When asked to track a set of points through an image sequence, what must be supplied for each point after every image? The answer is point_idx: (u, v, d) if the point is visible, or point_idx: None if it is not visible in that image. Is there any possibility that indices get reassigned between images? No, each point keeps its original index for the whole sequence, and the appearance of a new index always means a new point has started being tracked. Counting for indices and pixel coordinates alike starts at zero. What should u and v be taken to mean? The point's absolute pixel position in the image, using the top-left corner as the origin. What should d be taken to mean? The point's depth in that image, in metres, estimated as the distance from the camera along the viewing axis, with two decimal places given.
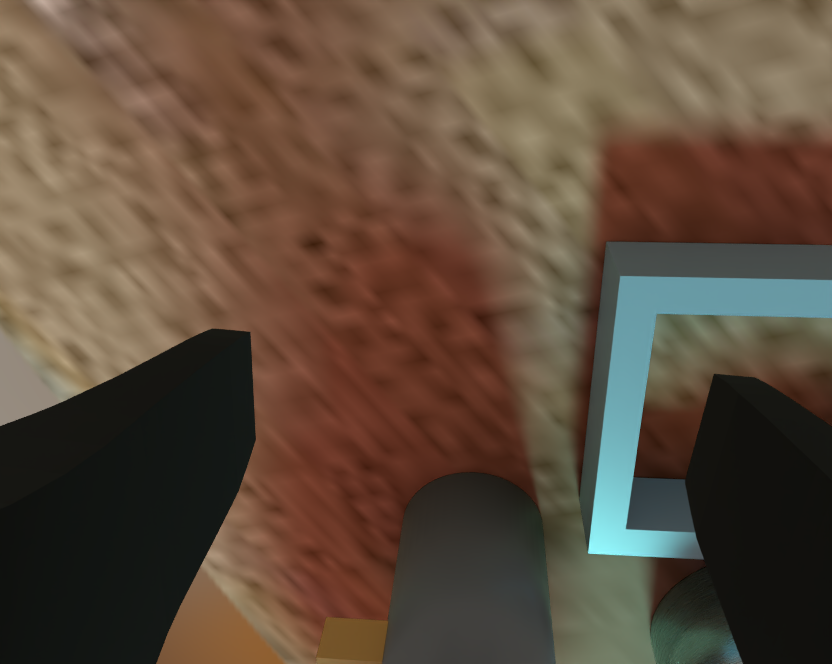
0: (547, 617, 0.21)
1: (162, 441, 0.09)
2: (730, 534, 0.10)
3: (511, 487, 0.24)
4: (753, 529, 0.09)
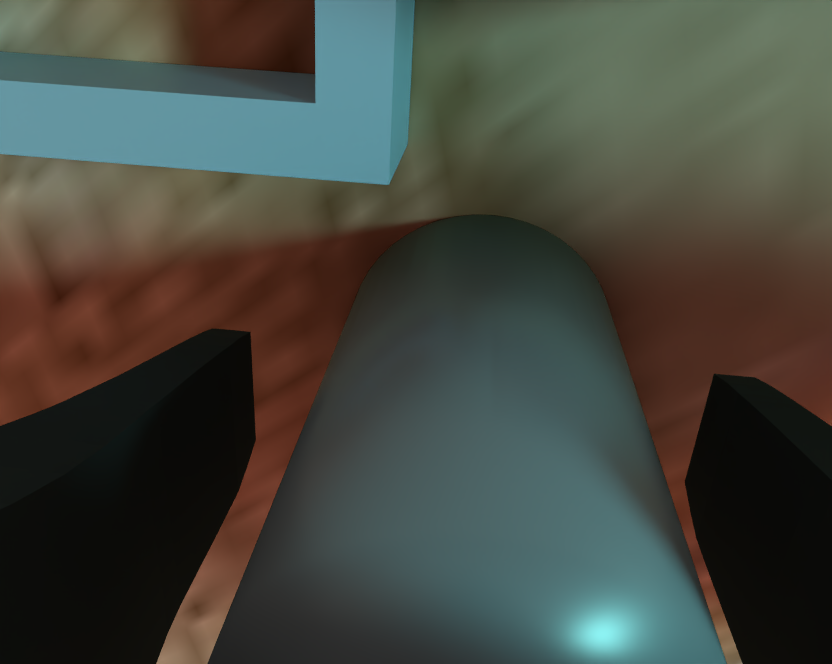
0: (405, 345, 0.09)
1: (162, 441, 0.09)
2: (730, 534, 0.10)
3: (369, 272, 0.13)
4: (753, 529, 0.09)
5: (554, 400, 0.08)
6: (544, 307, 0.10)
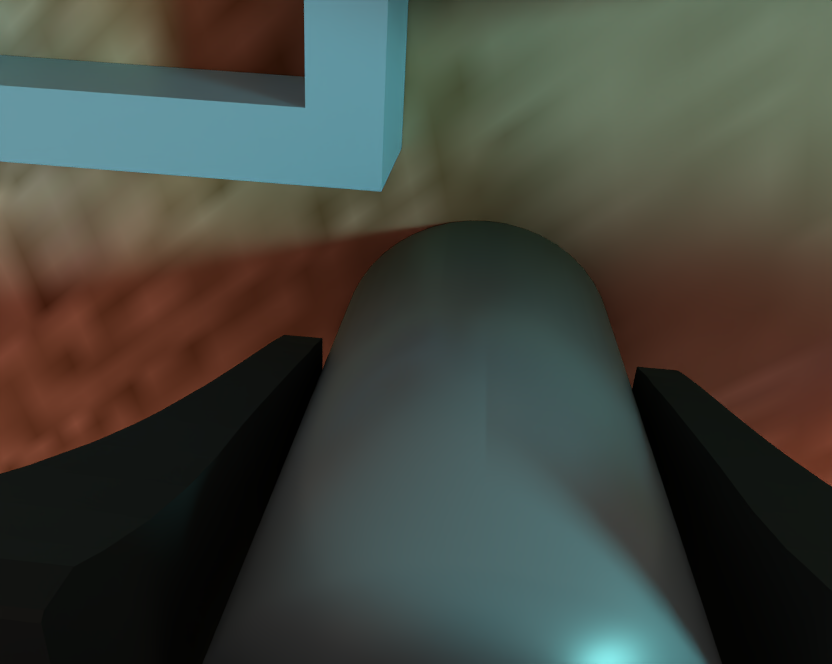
0: (397, 359, 0.09)
1: (256, 451, 0.09)
2: None
3: (362, 280, 0.13)
4: None
5: (552, 418, 0.07)
6: (541, 318, 0.09)
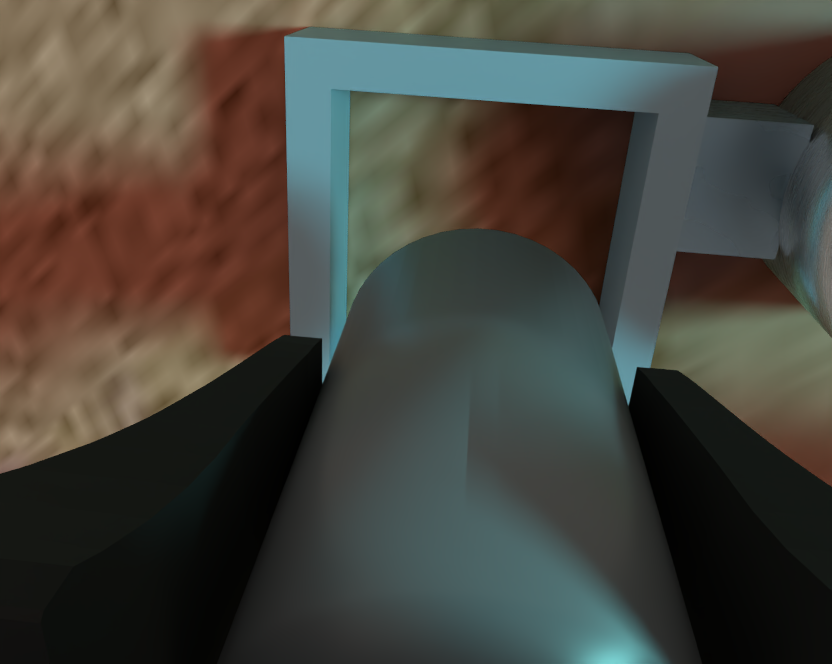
0: (386, 379, 0.09)
1: (256, 451, 0.09)
2: None
3: (359, 292, 0.13)
4: (663, 520, 0.10)
5: (533, 434, 0.08)
6: (527, 328, 0.10)
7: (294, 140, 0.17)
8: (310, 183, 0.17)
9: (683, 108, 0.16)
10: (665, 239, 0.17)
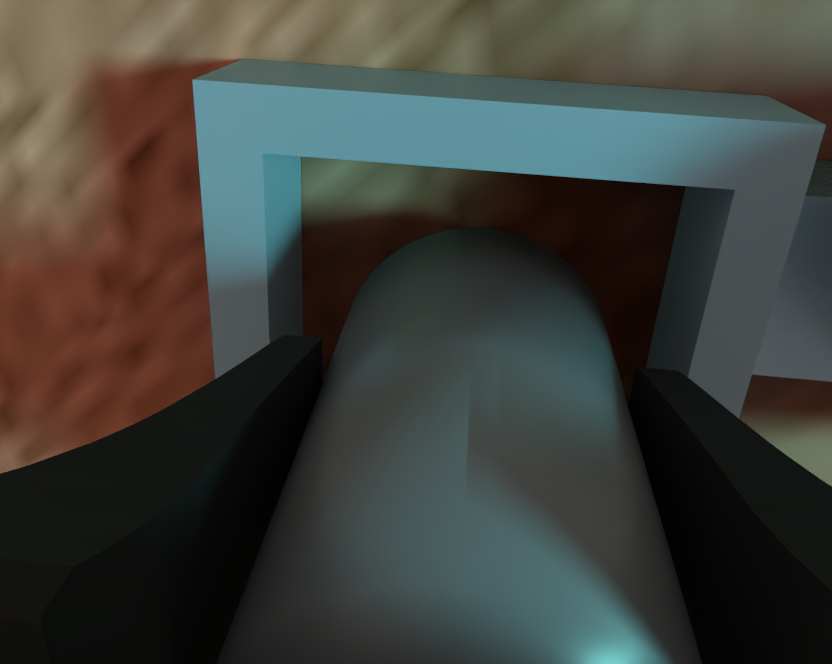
0: (386, 378, 0.09)
1: (256, 451, 0.09)
2: None
3: (359, 291, 0.13)
4: (663, 520, 0.10)
5: (533, 433, 0.08)
6: (527, 328, 0.10)
7: (214, 222, 0.12)
8: (240, 280, 0.12)
9: (771, 183, 0.11)
10: (736, 359, 0.12)
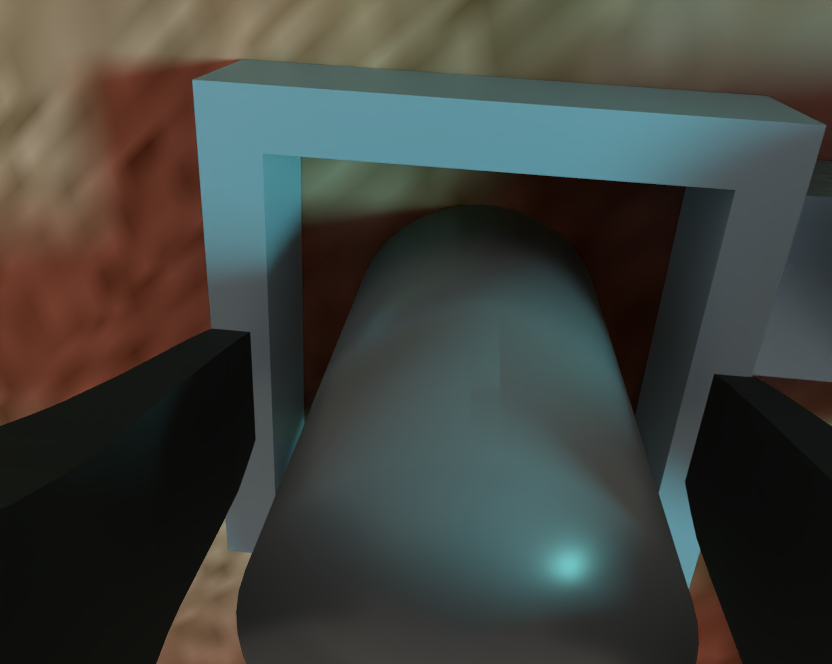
0: (399, 320, 0.10)
1: (162, 441, 0.09)
2: (730, 534, 0.10)
3: (370, 264, 0.14)
4: (753, 529, 0.09)
5: (528, 357, 0.09)
6: (524, 281, 0.11)
7: (214, 223, 0.12)
8: (239, 280, 0.12)
9: (771, 183, 0.11)
10: (736, 359, 0.12)
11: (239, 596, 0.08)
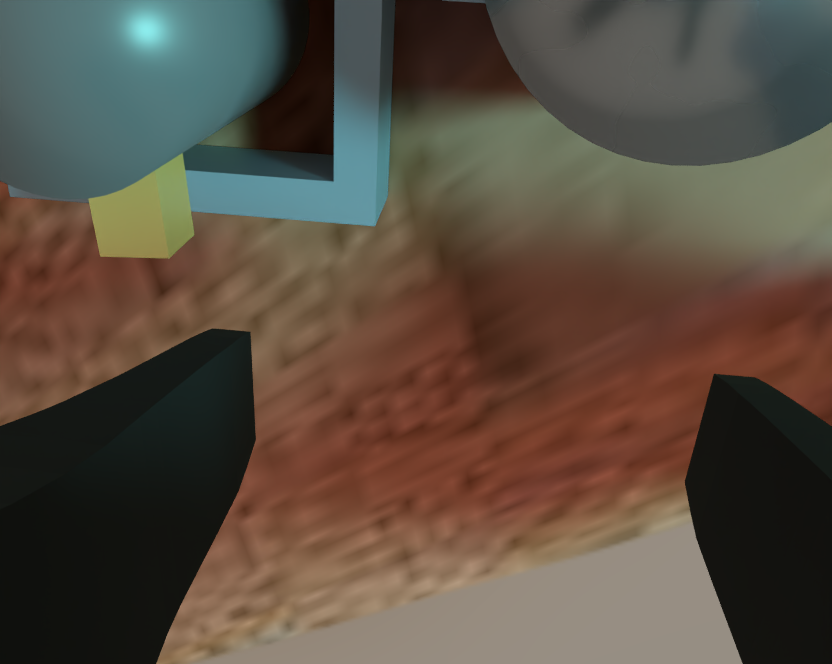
0: None
1: (162, 441, 0.09)
2: (730, 534, 0.10)
3: None
4: (753, 529, 0.09)
5: None
6: None
7: None
8: None
9: None
10: None
11: None
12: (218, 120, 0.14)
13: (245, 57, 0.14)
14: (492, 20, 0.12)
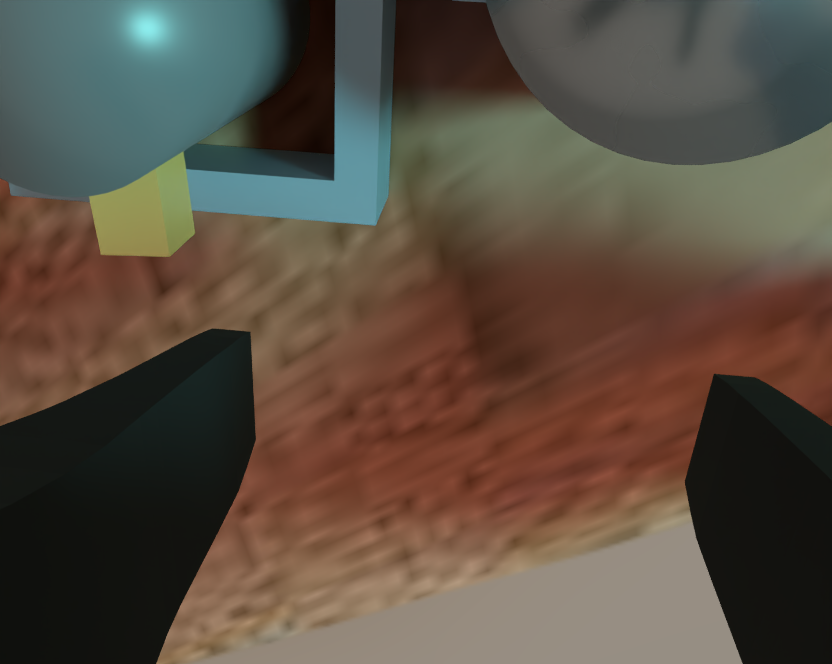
0: None
1: (162, 441, 0.09)
2: (730, 534, 0.10)
3: None
4: (753, 529, 0.09)
5: None
6: None
7: None
8: None
9: None
10: None
11: None
12: (219, 118, 0.14)
13: (245, 56, 0.14)
14: (493, 19, 0.12)
